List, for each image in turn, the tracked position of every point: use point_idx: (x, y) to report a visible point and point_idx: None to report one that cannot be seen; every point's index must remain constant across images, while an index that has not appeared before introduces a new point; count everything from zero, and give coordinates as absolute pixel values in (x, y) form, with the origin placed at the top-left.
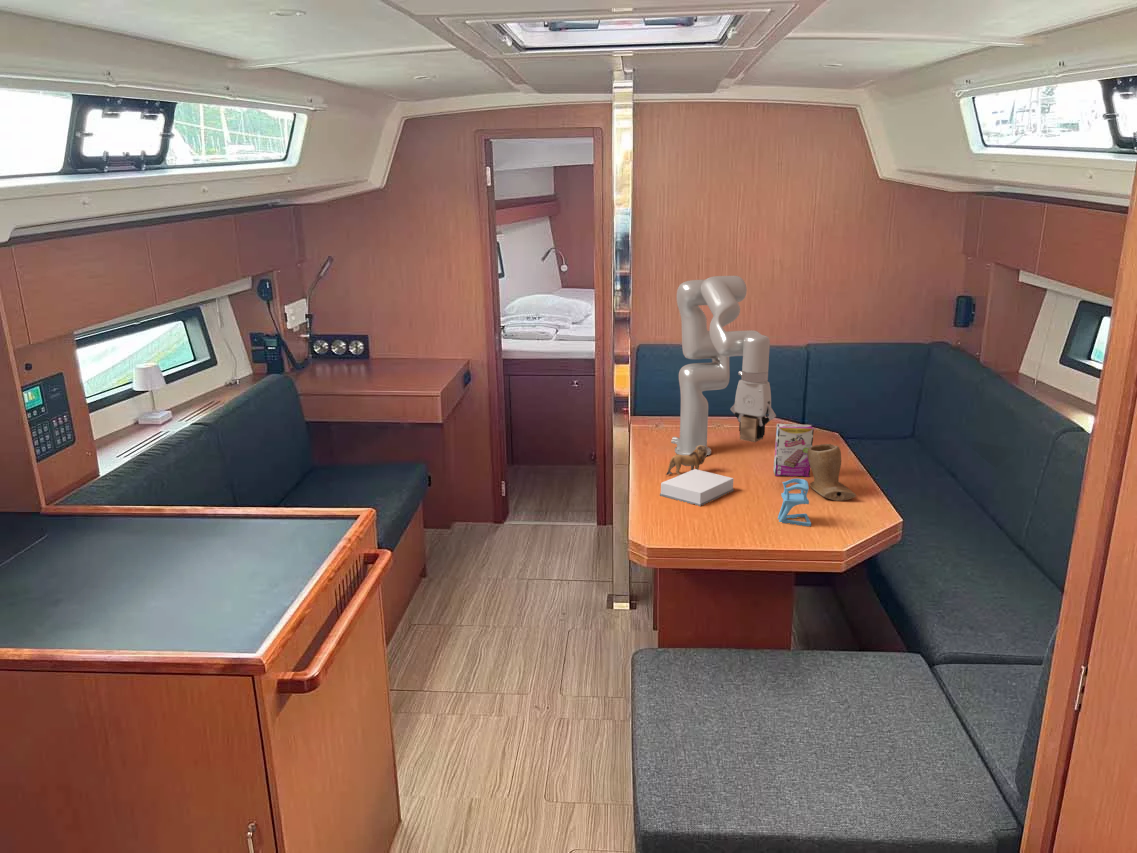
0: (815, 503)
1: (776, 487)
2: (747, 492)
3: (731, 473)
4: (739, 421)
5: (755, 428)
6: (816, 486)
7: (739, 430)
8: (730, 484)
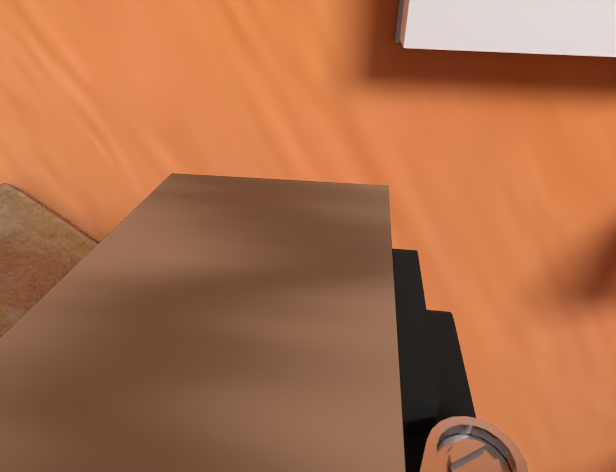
0: (13, 125)
1: None
2: (319, 66)
3: (511, 277)
4: (478, 439)
5: (60, 284)
6: (69, 245)
7: (447, 316)
8: (406, 6)
